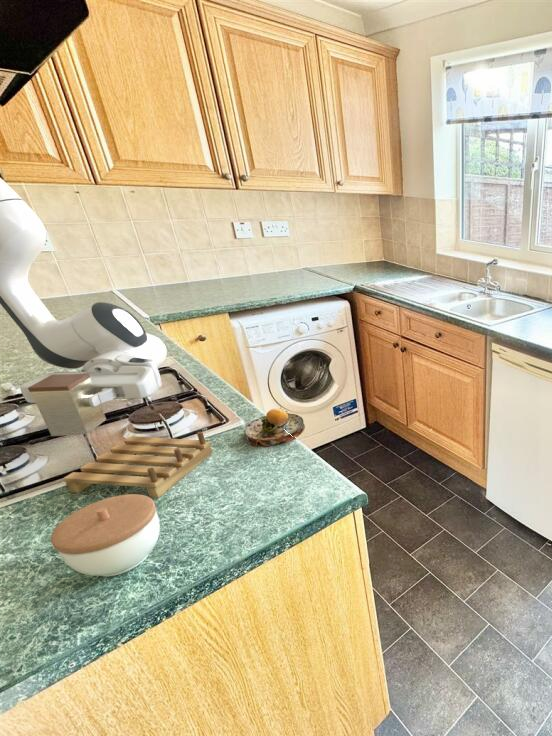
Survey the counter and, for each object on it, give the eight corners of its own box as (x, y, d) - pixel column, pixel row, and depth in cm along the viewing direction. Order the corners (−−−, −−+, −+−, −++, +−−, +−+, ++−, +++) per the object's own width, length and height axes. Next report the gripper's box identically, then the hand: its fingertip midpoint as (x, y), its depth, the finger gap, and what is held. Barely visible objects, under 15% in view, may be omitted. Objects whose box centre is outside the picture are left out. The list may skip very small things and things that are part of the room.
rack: (68, 492, 73) (56, 466, 71) (136, 447, 86) (127, 424, 84) (159, 498, 73) (150, 472, 71) (213, 453, 86) (207, 430, 84)
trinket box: (60, 567, 60) (32, 516, 56) (150, 522, 68) (131, 476, 64) (90, 604, 55) (62, 552, 51) (183, 551, 63) (165, 503, 59)
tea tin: (50, 436, 77) (27, 387, 73) (72, 420, 82) (52, 374, 78) (88, 434, 78) (67, 386, 74) (107, 419, 84) (89, 373, 79)
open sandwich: (286, 414, 102) (281, 386, 98) (316, 430, 96) (311, 401, 93) (234, 434, 92) (226, 405, 89) (263, 453, 87) (256, 422, 83)
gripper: (46, 362, 86) (-13, 391, 74) (162, 359, 90) (124, 386, 78) (58, 389, 88) (3, 422, 76) (170, 385, 93) (135, 416, 81)
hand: (65, 404), depth 77 cm, fingers closed on tea tin, 5 cm apart
